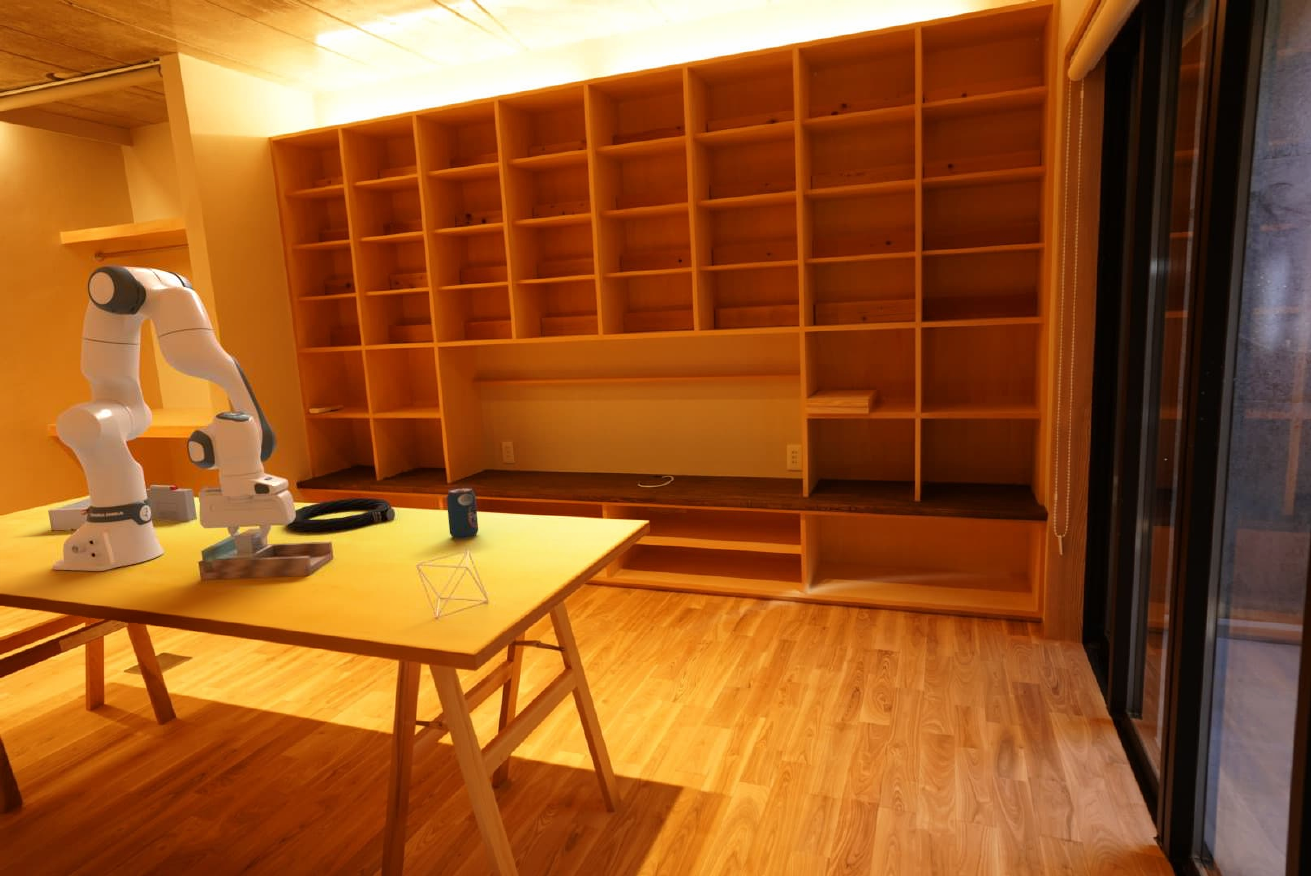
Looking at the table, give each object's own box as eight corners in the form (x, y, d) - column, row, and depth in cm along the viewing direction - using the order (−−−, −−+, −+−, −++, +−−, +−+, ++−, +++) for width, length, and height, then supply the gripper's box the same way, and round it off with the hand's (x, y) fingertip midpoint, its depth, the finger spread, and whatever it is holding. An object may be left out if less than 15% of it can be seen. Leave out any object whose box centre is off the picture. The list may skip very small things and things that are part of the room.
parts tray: (51, 531, 216) (48, 510, 215) (110, 510, 239) (107, 491, 238) (96, 529, 216) (92, 508, 215) (151, 508, 239) (148, 490, 238)
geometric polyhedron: (413, 606, 145) (408, 560, 143) (464, 590, 152) (460, 546, 150) (444, 623, 136) (439, 575, 134) (497, 605, 143) (493, 559, 141)
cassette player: (197, 519, 223) (192, 485, 221) (188, 521, 220) (183, 487, 219) (157, 517, 228) (152, 484, 226) (149, 519, 225) (143, 486, 224)
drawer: (200, 579, 166) (196, 550, 165) (232, 562, 178) (228, 535, 177) (309, 575, 166) (305, 546, 165) (333, 558, 177) (330, 531, 176)
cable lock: (325, 496, 229) (416, 496, 223) (327, 508, 230) (418, 508, 224) (261, 520, 203) (362, 521, 196) (263, 534, 203) (364, 535, 197)
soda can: (478, 538, 188) (474, 491, 186) (449, 541, 186) (445, 493, 184) (478, 531, 195) (474, 485, 193) (450, 534, 193) (446, 488, 191)
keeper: (217, 569, 167) (213, 539, 166) (240, 556, 176) (236, 527, 175) (253, 568, 167) (249, 537, 166) (274, 555, 176) (270, 526, 175)
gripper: (188, 490, 166) (197, 551, 168) (280, 486, 165) (288, 547, 168) (206, 483, 172) (214, 542, 174) (295, 479, 172) (302, 539, 174)
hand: (251, 545), depth 171 cm, fingers open, 4 cm apart
